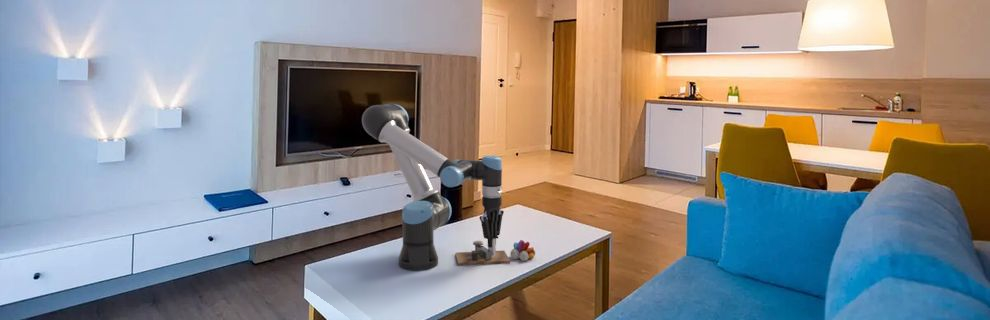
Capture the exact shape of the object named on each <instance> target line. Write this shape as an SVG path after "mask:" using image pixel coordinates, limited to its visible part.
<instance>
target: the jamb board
mask: <svg viewBox="0 0 990 320" xmlns="http://www.w3.org/2000/svg"><path fill="white" fill-rule="evenodd" d="M472 245H473V246H474V249H475V250H471V251H463V252H455V258H456V261H457V266H459V267H460V266H481V265H482V266H483V265H497V264H498V265H499V264H510V263H511V260H510V258H509V256H508V255H507V253H506V251H505V250H496V255H494V256H493V255H492V259H490V260H485V259H484V258H482V257H481V256H480V255H478V253H477V246H484V241H482V240H475V241H473V242H472Z"/></svg>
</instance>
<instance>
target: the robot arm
mask: <svg viewBox="0 0 990 320" xmlns="http://www.w3.org/2000/svg"><path fill="white" fill-rule="evenodd" d="M409 120H410V118H409V113H408V112H407V111H406V109H405V108H404V107H403V106H401V105H400V104H396V103H386V104H385V103H384V104H376V105H375V104H374V105H371V106H369V107H368V108H366V109H365V111H364V112H363V113H362V116H361V124H362V128H363V129H364V131H365V132H366V133H367V134H368V135H369V136H371V137H372V138H373V139H375V140H377V141H378V142H380V143H386V144H388V146H389V148H390V149H391V151H392V154H393V156H394V158H395V161H396V162H397V164H398V167H399V169H400V171H401V172H402V175H403V177H404V179H405V182H406V183H407V185H408V187H409V189H410V192H411V194H412V196H413V199H412V201H410V202H408V203H406V204H405V205H404V206H403V207H402V211H401V212H402V214H401V220H402V222H401V223H402V224H401V225H402V226H401V227H402V247H401V250H400V253H399V256H398V260H397V261H398V266H399V267H400V268H401V269H403V270H408V271H426V270H430V269H433V268H435V267H437V266H438V265H439V256H438V253H437V250H436V247H435V244H434V231H436V230H437V229H439V228H441V227H443V226H444V225H445V224H446V223H447V222H448V221H449V220H450V218H451V216H452V212H453V211H452V206H451V203H450V201H449V200H448V199H447V198H445V197H443V196H442V195H441V192H440V190H438V189H436V188H434V187H433V184H432V182H431V181H430V178H429V177H428V174H427V172H426V170H428V171H429V172H431V173H432V174H433V175H436V176H437V177H438V178H439V180H440V182H441V183H442V185H444V187H447V188H454V187H458V186H460V185H461V184H462V183H465V182H467V181H470V180H473V181H481V194H482V197H481V199H482V200H481V201H482V202H481V204H482V207H484V208H483V214H482V215H480V216H479V220H480V222H481V228H482V234H483V238H484V239H485V240H486V239H487V249H488V250H490V251H491V252H492V255H493V256H494V255H496V251H497V250H496V249H497V247H496V246H497V240H498V239H499V236H500V234H501V228H502V222H503V215H504V212H505V211H504V210H501V208H500V207H502V204H503V201H502V200H503V199H502V193H503V192H502V189H503V188H502V183H503V182H502V178H503V177H502V175H503V165H502V162H503V161H502V158H501V157H500V156H498V155H484V156H482V158H481V160H474V159H473V160H471V159H462V158H461V159H455V160H453V161H452V160H450V158H448V157H446V156H444V155H443V154H442V153H440V152H439V151H437V150H435V149H433V148H432V147H431V146H430V145H428V144H426V143H424V142H422V141H421V140H419V139H418V138H417V137H416V136H414V135H412V134H410V132H411V129H410V127H409Z"/></svg>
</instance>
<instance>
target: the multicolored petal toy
mask: <svg viewBox="0 0 990 320" xmlns="http://www.w3.org/2000/svg"><path fill="white" fill-rule="evenodd" d="M512 246H513V248H512V249H511V251H510V254H509V255H510V258H511V259H513V260H518V259H519V260H520V261H521V262H527V261H529V259H533V258H534V257H535V256H536V250H535V248H534V247H533V246H532V247H529V246H530V242H529V241H526V242H525V241H524V240H522V239H520V240H519V241H518V242H514V243H513V245H512Z"/></svg>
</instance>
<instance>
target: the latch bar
mask: <svg viewBox="0 0 990 320" xmlns="http://www.w3.org/2000/svg"><path fill="white" fill-rule="evenodd" d="M477 253H478V255H480V256H481V257H482V258H484V259H485V260H490V259H492V252H491V251H490V250H488V247H485V246H484V245H481V246H477Z"/></svg>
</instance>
